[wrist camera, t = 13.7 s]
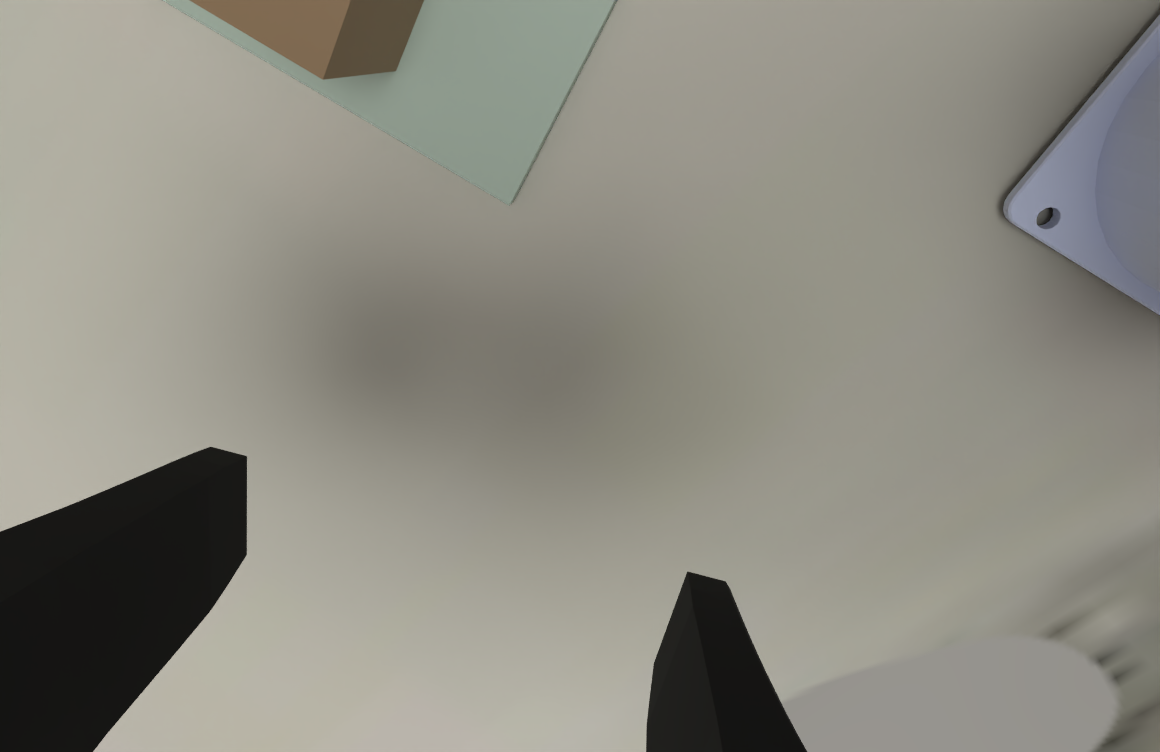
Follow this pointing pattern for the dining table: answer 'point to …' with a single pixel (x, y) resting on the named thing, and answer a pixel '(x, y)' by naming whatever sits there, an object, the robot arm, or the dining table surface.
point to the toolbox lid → (430, 68)
